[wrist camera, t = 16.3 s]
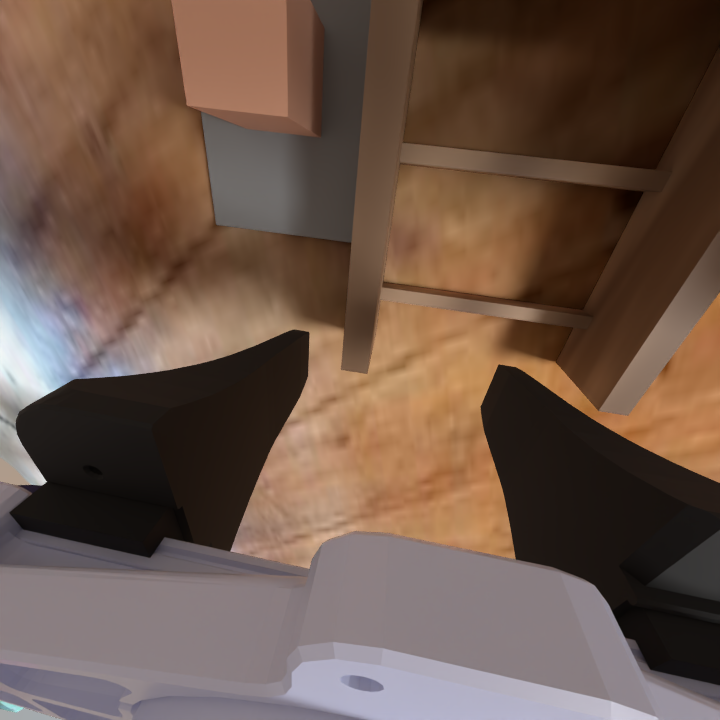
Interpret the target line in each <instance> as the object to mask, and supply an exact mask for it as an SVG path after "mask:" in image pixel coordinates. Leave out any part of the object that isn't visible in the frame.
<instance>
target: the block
mask: <svg viewBox="0 0 720 720" xmlns="http://www.w3.org/2000/svg"><path fill="white" fill-rule="evenodd" d="M171 2H172V8H173V15H174V22H175V29H176V35H177V42H178V49H179V56H180V62H181V69H182V76H183V83H184V89H185V96H186V103H187V106H189V107H192V108H194V109H197V110H199V111H202V112H204V113H207V114H210V115H212V116H215V117H217V118H220V119H223V120H225V121H228V122H230V123H233V124H235V125H238V126H241V127H243V128H246V129H251V130H260V131H268V132H277V133H285V134H294V135H303V136H311V137H320V138H321V120H322V89H323V58H324V26H323V24H322V22H321V20H320V18H319V16H318V14H317V12H316V10H315V8H314V6H313V4H312V2H311V0H171Z"/></svg>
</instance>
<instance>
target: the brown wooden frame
mask: <svg viewBox="0 0 720 720" xmlns="http://www.w3.org/2000/svg"><path fill="white" fill-rule="evenodd" d="M422 6H423V0H371V12H370V24H369V36H368V48H367V60H366V72H365V85H364V97H363V109H362V121H361V133H360V146H359V158H358V170H357V182H356V194H355V206H354V219H353V231H352V243H351V255H350V267H349V279H348V292H347V304H346V316H345V328H344V340H343V353H342V365H341V370H346V371H352V372H359V373H365V374H367V373H368V368H369V364H370V359H371V354H372V349H373V345H374V340H375V335H376V328H377V321H378V314H379V307H380V300H384V301H391V302H398V303H405V304H412V305H419V306H426V307H433V308H440V309H447V310H454V311H461V312H468V313H475V314H482V315H489V316H496V317H503V318H510V319H517V320H524V321H531V322H538V323H545V324H551V325H558V326H565V327H572V328H573V330H572V332H571V334H570V336H569V338H568V340H567V342H566V344H565V346H564V348H563V349H562V351H561V353H560V355H559V357H558V359H557V361H556V363H557V364H558V365H559V366H560V367H561V369H562V370H563V371H564V372H565V373H566V374H567V375H568V377H569V378H570V379H571V380H572V381H573V382H574V383H575V385H576V386H577V387H578V388H579V389H580V390H581V391H582V393H583V394H584V395H585V396H586V397H587V398H588V399H589V401H590V402H591V403H592V404H593V405H594V406H595V407H596V409H597V410H598V411H602V412H608V413H614V414H620V415H627V416H628V415H629V414H630V412H631V411H632V410H633V408H634V407H635V406H636V404H637V403H638V401H639V400H640V399H641V397H642V396H643V395H644V393H645V392H646V391H647V389H648V388H649V387H650V385H651V384H652V383H653V381H654V380H655V379H656V377H657V376H658V375H659V373H660V372H661V371H662V369H663V368H664V367H665V365H666V364H667V362H668V361H669V360H670V358H671V357H672V356H673V354H674V353H675V352H676V350H677V349H678V348H679V346H680V345H681V344H682V342H683V341H684V340H685V338H686V337H687V336H688V334H689V333H690V332H691V330H692V329H693V328H694V326H695V325H696V323H697V322H698V321H699V319H700V318H701V317H702V315H703V314H704V313H705V311H706V310H707V309H708V307H709V306H710V305H711V303H712V302H713V301H714V299H715V298H716V297H717V295H718V294H719V293H720V46H719V48H718V50H717V52H716V53H715V55H714V57H713V59H712V61H711V63H710V65H709V67H708V69H707V71H706V73H705V75H704V77H703V79H702V81H701V83H700V84H699V86H698V88H697V90H696V92H695V94H694V96H693V98H692V100H691V102H690V104H689V106H688V108H687V110H686V112H685V113H684V115H683V117H682V119H681V121H680V123H679V125H678V127H677V129H676V131H675V133H674V135H673V137H672V139H671V141H670V142H669V144H668V146H667V148H666V150H665V152H664V154H663V156H662V158H661V160H660V162H659V164H658V166H657V168H656V170H651V169H642V168H632V167H623V166H614V165H605V164H595V163H586V162H577V161H568V160H558V159H549V158H540V157H531V156H521V155H512V154H503V153H494V152H485V151H475V150H466V149H457V148H448V147H438V146H429V145H420V144H411V143H403V139H404V132H405V125H406V118H407V111H408V104H409V97H410V90H411V83H412V76H413V69H414V62H415V55H416V48H417V41H418V34H419V27H420V20H421V13H422ZM400 164H404V165H413V166H421V167H430V168H439V169H448V170H457V171H466V172H475V173H483V174H492V175H501V176H510V177H519V178H528V179H536V180H545V181H554V182H563V183H572V184H581V185H590V186H598V187H607V188H616V189H625V190H634V191H643V192H644V193H643V195H642V197H641V199H640V201H639V202H638V204H637V206H636V208H635V210H634V212H633V214H632V216H631V218H630V220H629V222H628V224H627V226H626V228H625V230H624V231H623V233H622V235H621V237H620V239H619V241H618V243H617V245H616V247H615V249H614V251H613V253H612V255H611V257H610V259H609V260H608V262H607V264H606V266H605V268H604V270H603V272H602V274H601V276H600V278H599V280H598V282H597V284H596V286H595V288H594V290H593V291H592V293H591V295H590V297H589V299H588V301H587V303H586V305H585V307H584V309H583V310H579V309H572V308H565V307H558V306H551V305H544V304H536V303H529V302H522V301H515V300H508V299H501V298H493V297H486V296H479V295H472V294H465V293H458V292H450V291H443V290H436V289H429V288H422V287H415V286H407V285H400V284H393V283H386V282H383V279H384V272H385V265H386V258H387V251H388V244H389V237H390V230H391V223H392V216H393V209H394V202H395V195H396V188H397V181H398V174H399V167H400Z"/></svg>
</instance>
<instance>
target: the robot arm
mask: <svg viewBox="0 0 720 720" xmlns="http://www.w3.org/2000/svg"><path fill="white" fill-rule="evenodd" d="M308 359H309V332H306V331H300V330H291V331H288V332H286V333H283V334H281V335H279V336H277V337H274V338H272V339H270V340H267V341H265V342H263V343H261V344H258V345H256V346H253V347H251V348H248V349H246V350H243V351H240V352H238V353H235V354H232V355H229V356H226V357H223V358H220V359H216V360H213V361H209V362H205V363H201V364H197V365H192V366H187V367H182V368H178V369H173V370H167V371H160V372H154V373H146V374H138V375H129V376H118V377H104V378H90V379H75V380H72V381H70V382H69V383H67V384H65V385H64V386H62V387H60V388H58V389H57V390H55V391H53V392H51V393H50V394H48V395H46V396H44V397H42V398H41V399H39V400H37V401H35V402H34V403H32V404H30V405H28V406H27V407H25V408H24V409H23V410H21V411H20V412H19V414H18V417H17V419H16V430H17V435H18V437H19V439H20V441H21V443H22V445H23V446H24V448H25V449H26V451H27V452H28V454H29V455H30V457H31V458H32V460H33V461H34V463H35V464H36V466H37V468H38V469H39V471H40V472H41V474H42V475H43V477H44V478H45V480H46V481H47V482H46V483H45V484H44V485H43V486H41V487H40V488H39V489H38V490H36V491H35V492H34V493H33V494H32V493H31V492H29V491H28V490H26V489H24V488H23V487H20V486H17V485H13V484H9V483H4V482H0V701H3V702H6V703H9V704H13V705H16V706H19V707H23V708H26V709H29V710H33V711H36V712H39V713H43V714H46V715H49V716H52V717H55V718H59V719H62V720H720V483H718V482H716V481H713V480H711V479H709V478H706V477H704V476H702V475H699V474H697V473H695V472H693V471H690V470H688V469H686V468H684V467H682V466H679V465H677V464H675V463H673V462H671V461H669V460H667V459H665V458H663V457H661V456H659V455H657V454H655V453H653V452H650V451H648V450H646V449H644V448H642V447H641V446H639V445H637V444H635V443H633V442H631V441H629V440H627V439H626V438H624V437H622V436H620V435H618V434H617V433H615V432H613V431H611V430H610V429H608V428H606V427H604V426H603V425H601V424H600V423H598V422H596V421H595V420H593V419H591V418H590V417H588V416H587V415H585V414H584V413H582V412H581V411H579V410H578V409H576V408H575V407H573V406H572V405H570V404H569V403H567V402H566V401H564V400H563V399H562V398H560V397H559V396H557V395H556V394H555V393H553V392H552V391H550V390H549V389H548V388H546V387H545V386H543V385H542V384H541V383H539V382H538V381H536V380H535V379H534V378H532V377H531V376H529V375H528V374H526V373H525V372H523V371H522V370H520V369H518V368H516V367H511V366H505V365H498V367H497V370H496V372H495V374H494V377H493V379H492V382H491V384H490V386H489V389H488V391H487V393H486V396H485V398H484V400H483V403H482V405H481V414H482V421H483V427H484V432H485V435H486V438H487V442H488V445H489V448H490V451H491V454H492V457H493V460H494V463H495V467H496V470H497V473H498V476H499V479H500V482H501V485H502V489H503V493H504V497H505V502H506V507H507V512H508V517H509V522H510V527H511V533H512V539H513V545H514V551H515V557H516V560H515V559H511V558H506V557H501V556H496V555H491V554H487V553H482V552H477V551H472V550H467V549H463V548H458V547H453V546H448V545H443V544H439V543H434V542H429V541H424V540H419V539H415V538H410V537H405V536H400V535H395V534H390V533H379V532H361V531H354V532H350V533H347V534H344V535H341V536H338V537H335V538H332V539H329V540H327V541H325V542H324V543H322V545H321V546H320V548H319V549H318V551H317V552H316V554H315V555H314V557H313V558H312V562H311V565H310V569H308V568H303V567H298V566H294V565H289V564H285V563H280V562H276V561H271V560H266V559H262V558H257V557H253V556H248V555H244V554H239V553H234V552H230V550H231V548H232V545H233V542H234V539H235V536H236V534H237V531H238V528H239V526H240V523H241V520H242V518H243V515H244V513H245V510H246V507H247V505H248V502H249V500H250V497H251V495H252V492H253V490H254V487H255V485H256V482H257V480H258V477H259V475H260V473H261V470H262V468H263V466H264V463H265V461H266V459H267V456H268V454H269V452H270V450H271V448H272V446H273V444H274V442H275V440H276V438H277V436H278V435H279V433H280V431H281V429H282V428H283V426H284V424H285V422H286V421H287V419H288V417H289V415H290V414H291V412H292V410H293V408H294V406H295V405H296V403H297V401H298V399H299V397H300V395H301V393H302V390H303V388H304V385H305V383H306V380H307V377H308Z"/></svg>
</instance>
